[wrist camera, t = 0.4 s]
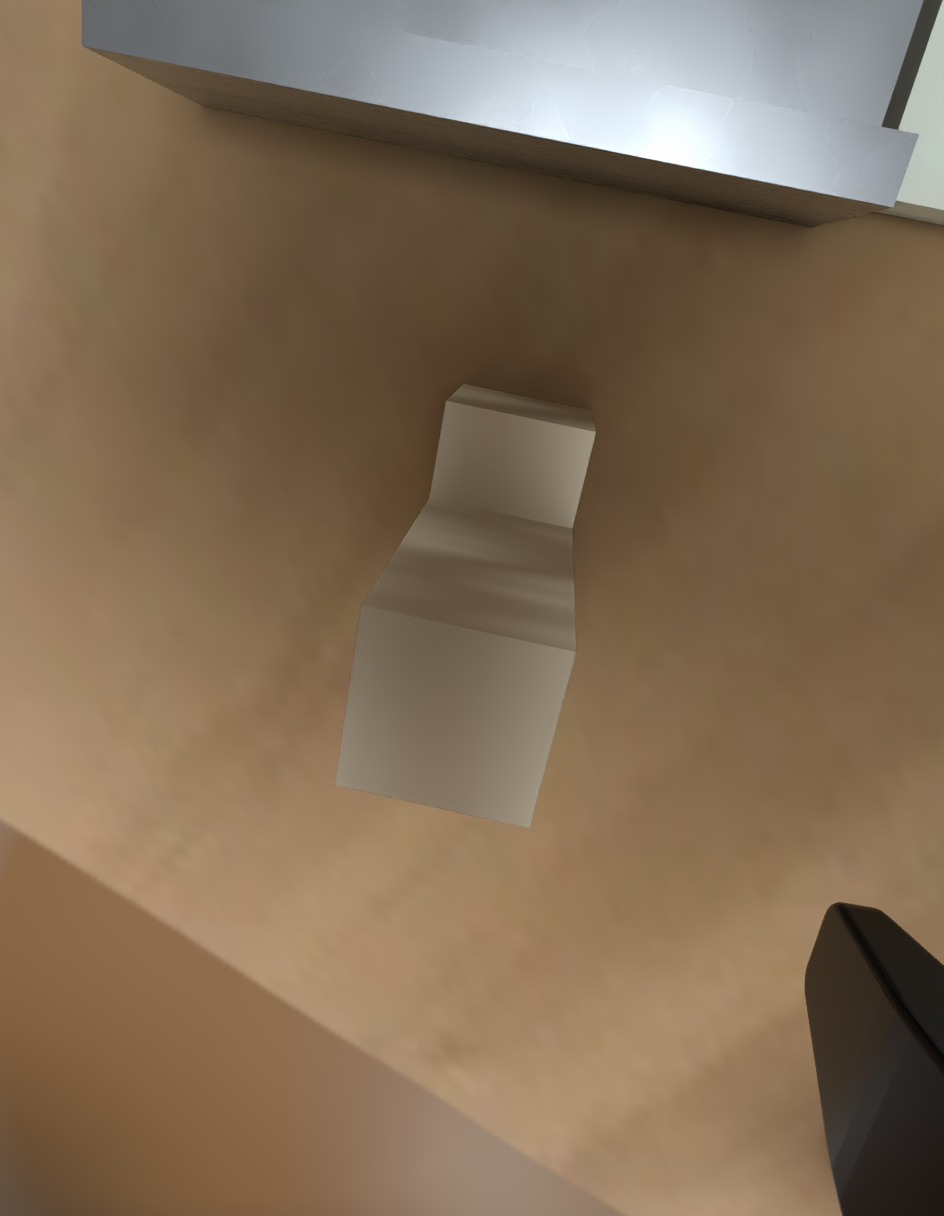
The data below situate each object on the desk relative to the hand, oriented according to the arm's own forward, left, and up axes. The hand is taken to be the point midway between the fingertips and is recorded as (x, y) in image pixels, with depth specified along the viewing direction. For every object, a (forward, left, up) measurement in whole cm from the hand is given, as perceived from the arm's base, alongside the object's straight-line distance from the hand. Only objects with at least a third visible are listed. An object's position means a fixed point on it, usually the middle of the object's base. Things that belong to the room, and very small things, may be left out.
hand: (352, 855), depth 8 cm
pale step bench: (-1, +1, -13) cm, 13 cm away
